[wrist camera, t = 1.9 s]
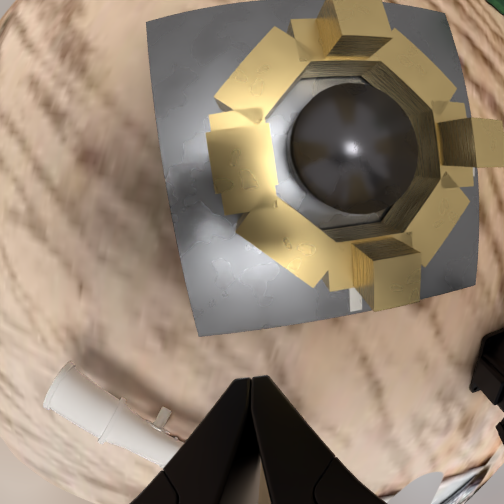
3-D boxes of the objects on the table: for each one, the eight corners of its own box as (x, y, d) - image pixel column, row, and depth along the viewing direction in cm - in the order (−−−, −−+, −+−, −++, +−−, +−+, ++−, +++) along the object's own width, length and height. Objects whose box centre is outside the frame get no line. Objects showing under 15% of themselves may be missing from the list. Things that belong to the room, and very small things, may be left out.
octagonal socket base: (422, 45, 14) (475, 14, 8) (446, 249, 18) (504, 280, 12) (205, 51, 15) (184, 2, 9) (241, 283, 18) (238, 336, 12)
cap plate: (438, 17, 14) (466, -2, 11) (468, 280, 20) (499, 300, 16) (150, 28, 15) (129, 1, 11) (200, 329, 20) (191, 363, 16)
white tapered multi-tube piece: (219, 434, 25) (195, 480, 23) (84, 356, 23) (56, 405, 20) (255, 450, 19) (224, 510, 16) (71, 349, 17) (34, 415, 14)
